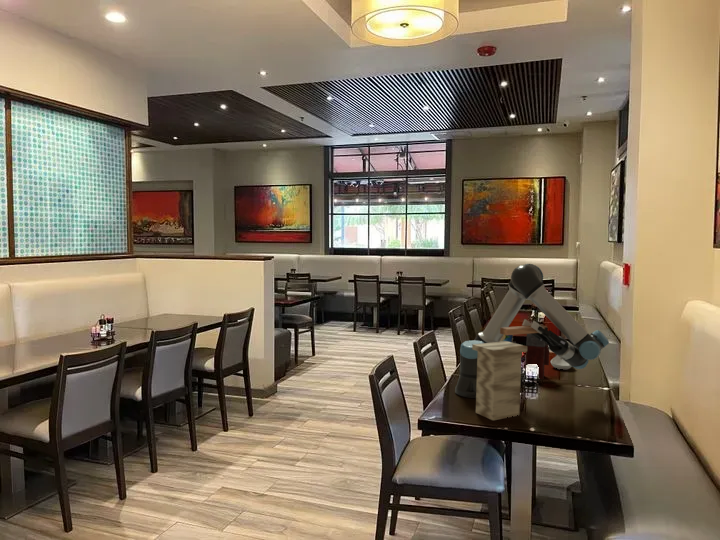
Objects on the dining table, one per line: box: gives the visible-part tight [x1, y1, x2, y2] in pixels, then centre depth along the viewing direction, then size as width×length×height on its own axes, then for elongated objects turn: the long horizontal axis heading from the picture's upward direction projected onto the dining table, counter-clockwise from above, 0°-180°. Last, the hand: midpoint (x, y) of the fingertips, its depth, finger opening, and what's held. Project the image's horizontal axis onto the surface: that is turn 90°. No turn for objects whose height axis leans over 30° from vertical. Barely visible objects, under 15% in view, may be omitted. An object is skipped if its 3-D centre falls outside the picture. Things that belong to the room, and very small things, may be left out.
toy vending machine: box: [525, 322, 550, 380], centre depth 264 cm, size 9×11×28 cm
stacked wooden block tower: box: [472, 341, 527, 421], centre depth 207 cm, size 12×18×28 cm, turn 118°
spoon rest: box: [550, 355, 572, 371], centre depth 289 cm, size 24×12×7 cm, turn 155°
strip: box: [500, 324, 548, 336], centre depth 210 cm, size 4×22×2 cm, turn 118°
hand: (528, 323), depth 211 cm, fingers closed on strip, 4 cm apart
